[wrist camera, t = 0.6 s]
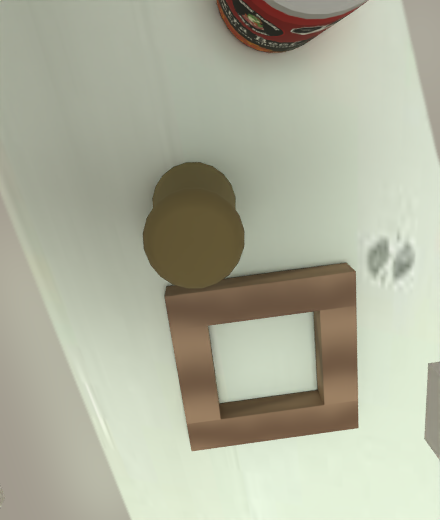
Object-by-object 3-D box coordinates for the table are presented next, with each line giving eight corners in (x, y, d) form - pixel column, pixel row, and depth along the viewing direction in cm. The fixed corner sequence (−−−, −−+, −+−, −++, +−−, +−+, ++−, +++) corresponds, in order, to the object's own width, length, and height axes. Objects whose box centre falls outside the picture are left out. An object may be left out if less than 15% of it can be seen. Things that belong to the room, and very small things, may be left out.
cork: (213, 257, 32) (222, 324, 21) (138, 223, 31) (110, 276, 20) (250, 185, 30) (279, 219, 20) (173, 146, 29) (161, 161, 19)
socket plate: (166, 286, 32) (164, 296, 30) (346, 262, 33) (355, 271, 31) (191, 434, 37) (191, 451, 35) (350, 412, 37) (358, 428, 35)
